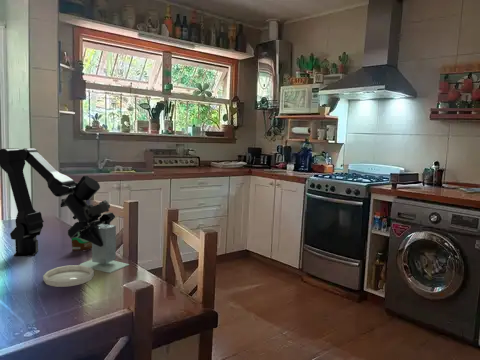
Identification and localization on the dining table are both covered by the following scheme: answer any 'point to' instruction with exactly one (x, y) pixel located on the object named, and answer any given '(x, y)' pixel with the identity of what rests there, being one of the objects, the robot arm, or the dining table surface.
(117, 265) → the rubber mat
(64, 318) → the dining table surface
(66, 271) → the ceramic dish
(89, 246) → the food container
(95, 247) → the tea tin
